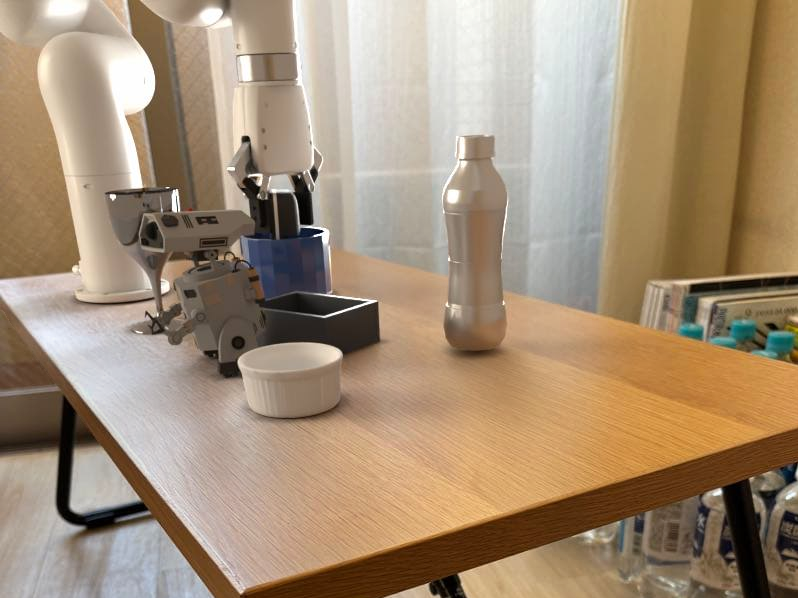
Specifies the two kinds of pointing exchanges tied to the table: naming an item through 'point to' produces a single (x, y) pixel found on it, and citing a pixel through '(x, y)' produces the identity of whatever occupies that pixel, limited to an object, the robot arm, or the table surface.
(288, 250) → the cup
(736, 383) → the table surface
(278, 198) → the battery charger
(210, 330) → the figurine
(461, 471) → the table surface
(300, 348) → the ramekin
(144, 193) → the wine glass
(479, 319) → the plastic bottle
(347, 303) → the bin
